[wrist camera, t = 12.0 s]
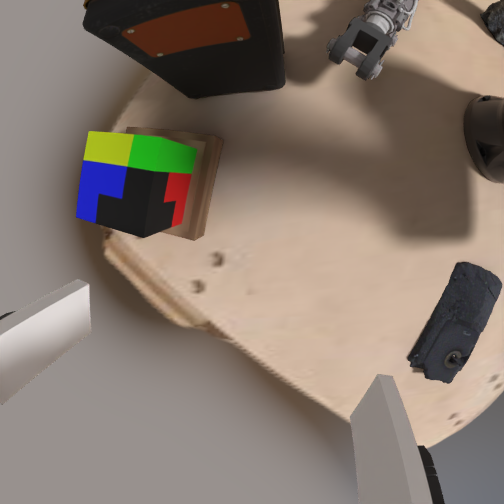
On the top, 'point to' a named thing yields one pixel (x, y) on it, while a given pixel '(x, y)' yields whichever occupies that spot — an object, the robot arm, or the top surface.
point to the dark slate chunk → (456, 322)
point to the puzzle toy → (134, 182)
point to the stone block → (495, 20)
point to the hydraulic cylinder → (372, 35)
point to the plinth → (192, 177)
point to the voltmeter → (197, 41)
